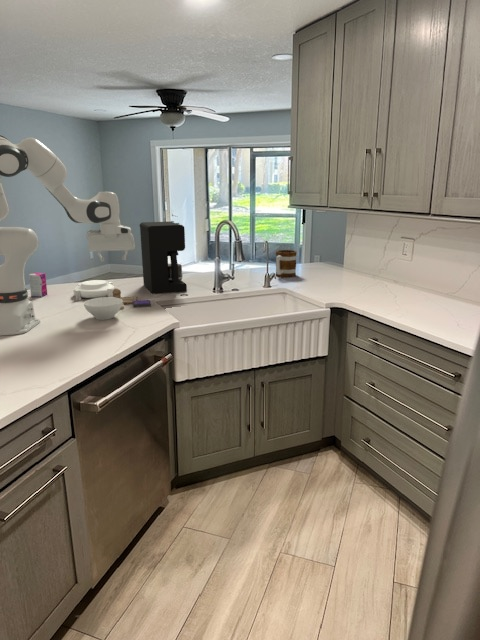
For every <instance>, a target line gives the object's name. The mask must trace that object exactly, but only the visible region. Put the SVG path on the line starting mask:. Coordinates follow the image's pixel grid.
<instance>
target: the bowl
mask: <svg viewBox="0 0 480 640" xmlns="http://www.w3.org/2000/svg"><path fill="white" fill-rule="evenodd" d="M122 302H123V300H122V299H120V298H115V297H108V296H106V297H101V298H89V299H87V300H85V301H84V302H83V307H84V308H85V310H86V311H87V312H88V313H89V314H90V315H92V316H93V317H94V318H95V319H96V320H99V321H106V320H110V319H113V318H114V317H115V316H116V314H117V313H118V312H119V311H120V310H121V309H120V308H121V306H122Z"/></svg>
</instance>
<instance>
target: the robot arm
mask: <svg viewBox="0 0 480 640" xmlns="http://www.w3.org/2000/svg"><path fill="white" fill-rule="evenodd" d="M26 170H28V171H29V172H30V173H31V174H32V175H33V176H34V177H35V178H36V179H37V180H38V181H40V183H41V184H43V186H44V187H45V188H46V190H47V191H48V192H49V193H50V195H52V196H53V198H54V200H56V201H57V202H58V203H59V204H60V205H61V207H62V208H63V210H65V213H66V215H67V218H69V219H70V221H72V222H73V223H75V224H99V229H90V230H87V231H86V239H87V241H88V243H87V245H88V247H87V249H88V251H89V252H96V253H97V256H98V257H99V260H100V262H105V257H104V256H102V254H101V253H102V252H113V251H115V252H116V251H119V252H120V251H124V253H125V254H124V255H122V256H121V257H122V258H121V260H122V261H127V255H128V253H129V251H135V250H136V242H135V237H134V236H135V235H134V234H133V233H132V228H131V227H130V226H126V225H122V224H121V220H120V213H121V212H120V210H121V209H120V202H119V198H118V195H117V193H115V192H112V191H109V190H99V191H98V193H97V194H96V195H95V196H93V197H91V198H90V199H83V198H78V197H76V196H74V195H73V193H71V191H70V190H69V189H68V187H66V186H65V184H64V182H65V181H66V179H67V176H68V175H67V174H68V171H67V168H66V165H65V164H64V163H63V162H62V161H61V159H60V158H59V157H58V156H57V154H55V153H54V152H53V151H52V150H51V149H50V148H48V147H47V146H46V145H45V144H44V143H42V142H41V141H40V140H39V139H36V138H35V137H27V138H24V139H22V140H21V141H20V142H18V143H12V142H11V141H10V140H9V139H8V138H7V137H5V136H3V135H0V222H1V221H3V220H4V219H5V218H6V217H7V216H8V215H9V213H10V206H9V204H8V201H7V197H6V194H5V190H4V188H3V184H2V177H5V178H6V177H7V178H11V177H15V176H18V174H20V173H21V172H23V171H26ZM38 247H39V238H38V235H37V233H36V232H35V231H34V230H33V229H32V228H28V227H22V226H0V256H3V257H4V262H3V263H2V264H0V337H1V336H14V335H20V334H26V333H27V332H29V331H30V330H32V329H33V328H35V326H37V325H39V323H41V320H40V319H39V318H37V317H36V313H35V308H34V303H33V302H32V301H31V300H30V299H29V293H28V289H27V287H26V283H25V267H26V263H27V262H28V260H29V258H30V257H31V256H32V255H33V254H34V253H35V252H36V251H37V249H38Z"/></svg>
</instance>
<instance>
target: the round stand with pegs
mask: <svg viewBox="0 0 480 640" xmlns="http://www.w3.org/2000/svg"><path fill="white" fill-rule="evenodd" d="M113 283H114V282H113V281H107V280H104V279H90V280H85V281H83V282H81V283H77V286H75V287H74V289H73V294H74V296H75V301H81V300H82V299H94V298H101V297H113V290H114V289H117V288H116V286H114V284H113Z"/></svg>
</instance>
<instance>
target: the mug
mask: <svg viewBox="0 0 480 640" xmlns="http://www.w3.org/2000/svg"><path fill="white" fill-rule="evenodd" d="M297 253H298V250H293V249H279V250H276V253H275V256H276V257H275V277H277V278H290V279H291V278H295V277H297V271H296V270H297V269H296V268H297Z"/></svg>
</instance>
